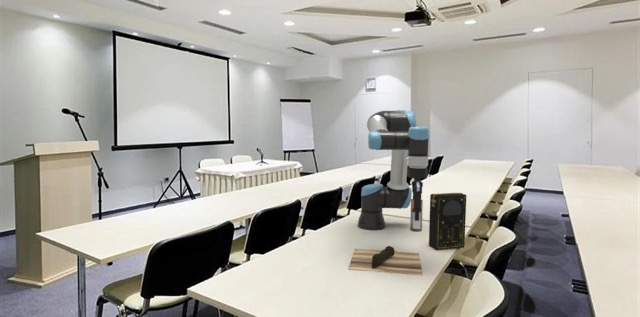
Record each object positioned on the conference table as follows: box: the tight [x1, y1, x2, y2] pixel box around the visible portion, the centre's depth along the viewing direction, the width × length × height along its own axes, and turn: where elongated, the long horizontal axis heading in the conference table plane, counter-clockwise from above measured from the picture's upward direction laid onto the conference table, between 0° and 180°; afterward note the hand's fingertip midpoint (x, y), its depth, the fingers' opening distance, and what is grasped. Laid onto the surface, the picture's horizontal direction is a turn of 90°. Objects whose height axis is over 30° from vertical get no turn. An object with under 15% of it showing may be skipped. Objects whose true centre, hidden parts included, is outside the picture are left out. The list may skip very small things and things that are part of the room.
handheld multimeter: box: [428, 192, 467, 251], centre depth 168 cm, size 16×9×25 cm, turn 105°
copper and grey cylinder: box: [409, 198, 424, 233], centre depth 142 cm, size 4×4×12 cm
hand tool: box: [372, 245, 396, 268], centre depth 150 cm, size 19×4×5 cm, turn 145°
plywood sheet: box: [347, 248, 424, 276], centre depth 151 cm, size 24×28×1 cm
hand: (416, 226), depth 143 cm, fingers closed on copper and grey cylinder, 4 cm apart
